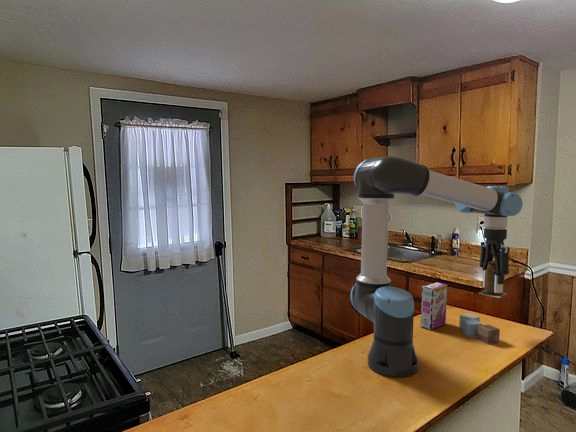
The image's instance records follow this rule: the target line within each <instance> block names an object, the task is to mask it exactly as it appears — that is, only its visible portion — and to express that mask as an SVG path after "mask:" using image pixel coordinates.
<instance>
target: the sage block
mask: <svg viewBox="0 0 576 432" xmlns="http://www.w3.org/2000/svg"><path fill="white" fill-rule="evenodd" d="M463 319H476V320H477V321H479V322H480V319H481V318H480V316H478V315H476V314H472V313H469V312H468V313H463V314H459V323H458V324H459V326H458V327H459V328H460V329H462V321H463ZM480 323H481V322H480Z"/></svg>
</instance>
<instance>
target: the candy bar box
mask: <svg viewBox="0 0 576 432" xmlns="http://www.w3.org/2000/svg"><path fill="white" fill-rule="evenodd" d="M421 288H422V289H421V303H420V304H421V306H420V311H421V312H420V327H419V328H423V329H424V330H425V329H426V330H428V331H432V330H435V329H436V328H439V327H442V326H444V325H446V320H447V319H446V318H447V298H448V284H447V283H442V282H434V283H430V284H427V285H422V286H421Z"/></svg>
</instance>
